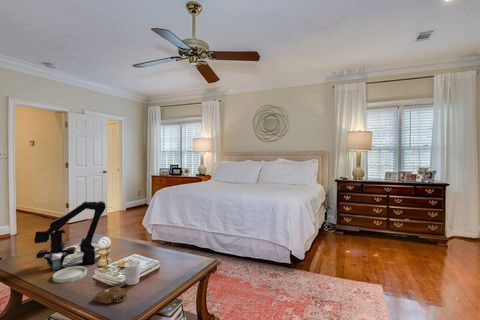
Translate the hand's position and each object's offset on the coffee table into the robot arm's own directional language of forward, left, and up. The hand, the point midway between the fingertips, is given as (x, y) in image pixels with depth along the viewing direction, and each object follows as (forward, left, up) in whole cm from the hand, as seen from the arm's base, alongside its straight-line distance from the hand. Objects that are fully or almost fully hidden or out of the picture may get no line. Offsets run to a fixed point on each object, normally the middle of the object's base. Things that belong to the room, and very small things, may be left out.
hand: (56, 266), depth 157 cm
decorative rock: (-34, +48, -2) cm, 59 cm away
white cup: (-43, +34, -1) cm, 55 cm away
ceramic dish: (-10, +14, -1) cm, 17 cm away
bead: (0, 0, -1) cm, 1 cm away
